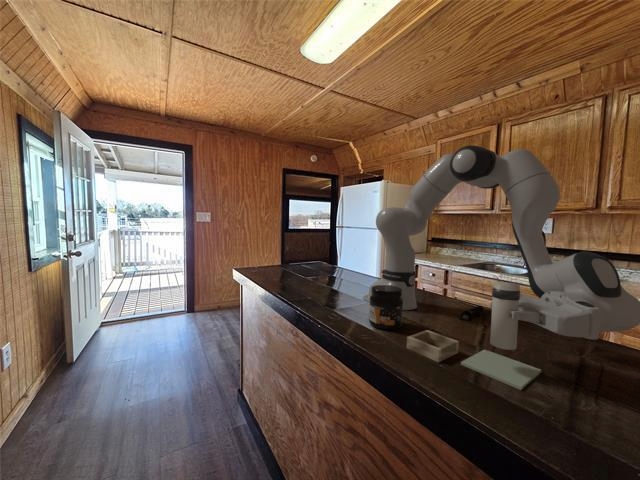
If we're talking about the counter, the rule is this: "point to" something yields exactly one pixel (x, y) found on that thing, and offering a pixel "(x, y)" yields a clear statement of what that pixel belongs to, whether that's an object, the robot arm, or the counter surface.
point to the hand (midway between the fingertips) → (501, 310)
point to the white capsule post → (504, 315)
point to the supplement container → (386, 307)
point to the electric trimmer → (471, 313)
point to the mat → (502, 368)
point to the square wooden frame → (420, 345)
